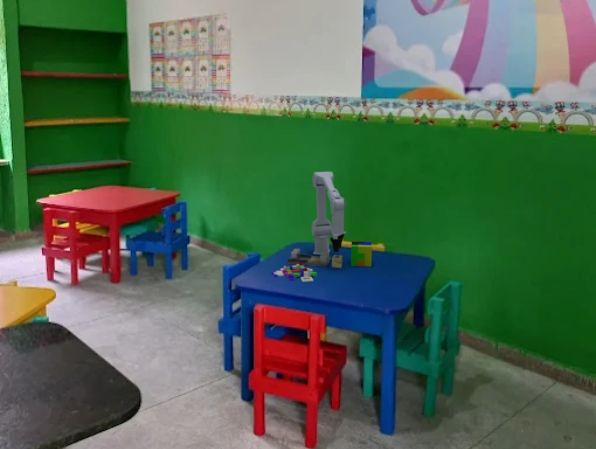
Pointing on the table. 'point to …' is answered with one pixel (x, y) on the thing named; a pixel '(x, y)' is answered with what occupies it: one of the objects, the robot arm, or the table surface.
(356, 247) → the puzzle toy
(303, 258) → the press bed
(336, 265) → the housing
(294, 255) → the ram
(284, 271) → the building block set
